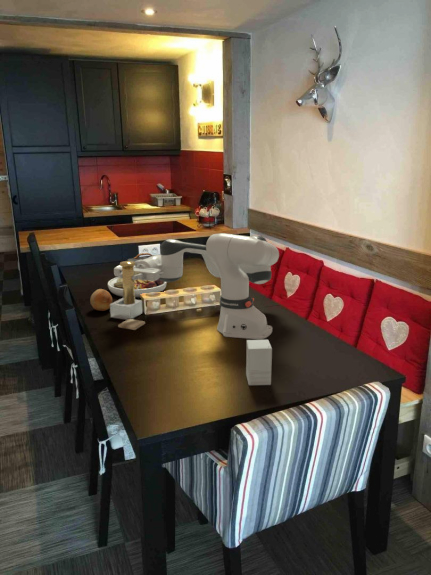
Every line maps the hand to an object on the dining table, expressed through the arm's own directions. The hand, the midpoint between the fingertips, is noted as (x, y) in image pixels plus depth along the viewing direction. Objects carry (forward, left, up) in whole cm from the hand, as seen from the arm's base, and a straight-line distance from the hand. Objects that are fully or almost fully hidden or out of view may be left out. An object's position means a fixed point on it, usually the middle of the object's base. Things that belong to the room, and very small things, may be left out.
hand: (126, 277), depth 196 cm
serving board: (+44, -91, -22) cm, 103 cm away
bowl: (+24, -46, -22) cm, 56 cm away
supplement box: (-65, +25, -21) cm, 73 cm away
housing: (+8, -11, -21) cm, 25 cm away
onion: (+22, -12, -21) cm, 33 cm away
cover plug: (0, -1, -11) cm, 11 cm away
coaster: (-1, -1, -21) cm, 21 cm away
